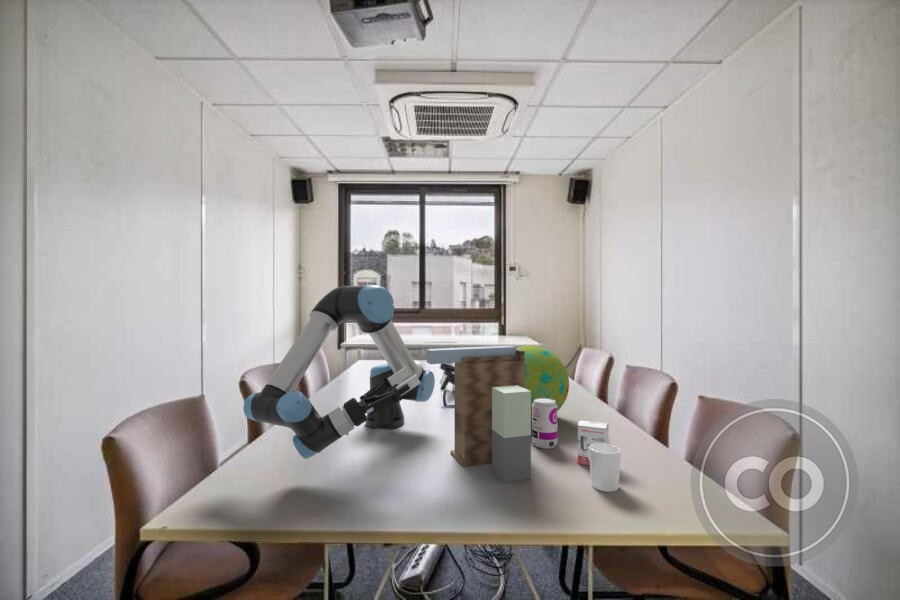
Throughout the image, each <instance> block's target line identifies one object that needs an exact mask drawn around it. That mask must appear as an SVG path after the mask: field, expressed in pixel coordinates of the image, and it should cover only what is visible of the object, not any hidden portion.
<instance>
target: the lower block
mask: <svg viewBox="0 0 900 600" xmlns="http://www.w3.org/2000/svg"><path fill="white" fill-rule="evenodd" d="M531 453H532V434H531V435H527V436H518V437H509V438H503V437H502V436H501V435H499V434H498V433H497V432H495V431H494V430H492V463H491V471H493V472H492V473H494V475H495V476H497V477H498V479H500V480H501V481H502V483H504V484H505V483H506V482H507V483H512V482H518V481H526V480H531V479H532V454H531Z"/></svg>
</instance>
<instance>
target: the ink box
mask: <svg viewBox="0 0 900 600" xmlns="http://www.w3.org/2000/svg"><path fill="white" fill-rule="evenodd" d="M595 443H605V444H609V424H608V423H607V422H599V421H597V422H596V421H589V420H578V422H577V464H578V465H585V466H590V459H589V446H590V445H591V444H595Z"/></svg>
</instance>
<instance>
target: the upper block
mask: <svg viewBox="0 0 900 600" xmlns="http://www.w3.org/2000/svg"><path fill="white" fill-rule="evenodd" d="M492 430H494V431H495V432H497V433H498V434H499V435H501V436H502V437H503V438H509V437H518V436H527V435H531V436H532V421H531V391H529V390H527V389H525V388H522V387H520V386H517V385H516V386H502V387H492Z"/></svg>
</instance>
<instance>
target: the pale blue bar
mask: <svg viewBox="0 0 900 600" xmlns="http://www.w3.org/2000/svg"><path fill="white" fill-rule="evenodd" d="M516 348H517V346H513V345H494V346H493V345H491V346H490V345H489V346H474V347H473V346H470V347H465V346H464V347H446V348H445V347H443V348H441V347H440V348H427V349H426V363H427V364H429V365H438V364H439V365H441V364H455V363H462V358H469V357H489V356H510V355H516Z"/></svg>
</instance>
